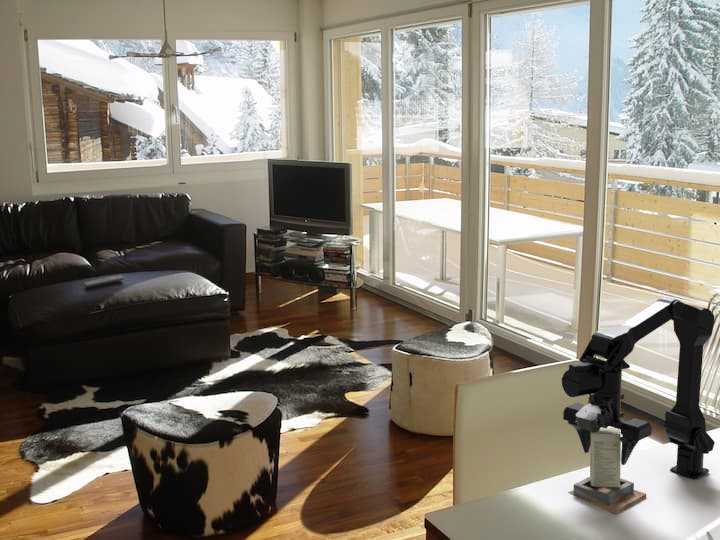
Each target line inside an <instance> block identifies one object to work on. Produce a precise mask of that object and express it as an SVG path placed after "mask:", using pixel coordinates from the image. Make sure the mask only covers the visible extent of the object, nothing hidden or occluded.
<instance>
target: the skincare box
mask: <svg viewBox="0 0 720 540" xmlns="http://www.w3.org/2000/svg"><path fill="white" fill-rule="evenodd" d="M620 437H622V434H621V429H617V428H614V427H607V428H603V427H601V428H600V430H599V431H598V432H594V433H593V432H591V442H590V449H589V453H590V457H589V458H590V460H589V461H590V462H589V463H590V464H589V465H590V466H589V469H590V470H589V472H590V473H589V477H590V482H591V486H599V487H620V478H621V451H622V442H621V441H620V439H619V438H620Z"/></svg>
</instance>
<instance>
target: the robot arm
mask: <svg viewBox="0 0 720 540" xmlns="http://www.w3.org/2000/svg"><path fill="white" fill-rule="evenodd" d="M669 321H673V332H674V333H675V335H676V338H677V340H678V342H679V355H678V365H677V366H678V368H677V381H676V397H675V404H674V405H673V406H672V408H671V409H670V410H666V411H665V415H664V416H665V419H664V424H663V427H664V428H665V433H666V434H667V437H668V440H669V441H668V442H669V443H671V444H674V445H677V449H676V450H677V452H676V453H677V454H676V465H675V466H672V467H671V468H670V469H669V470H670V471H669V472H673V473H676V474H679V475H680V476H681V475H682V476H684V477H688V478H692V479H696V480H697V479H699V478H701V477H703V476H704V475H707V473H709V472H710V469H708V468H705V467H704V454H707V455H708V454H709V453H710V452H712V451H713V450H714V446H715V443H716V442H715V441H714V439H713V438H712V437H711V436H710V434H708V433H707V429H706V427H707V426H706V419H705V416H704V414H703V412H702V410H701V408H700V397H701V383H702V372H703V371H702V370H703V355H704V346H705V344H706V343H707V342H708V340H709V339H710V337H712V335H713V330H714V325H715V314H714V313H713V312H712V311H711V309H709V308H705V307H702V306H698V305H694V304H689V303H688V304H687V303H685V302H683V301H681V300H679V299H676V298H671V297H668V296H663V297H659V298H657V300H656V301H655V302H654V303H652V304H651V305H650V306H648V307H647V308H645V309H643V310H642V311H640V312H638V313H636V314H635V315H633V316H632V317H630V318H628V319H627V320H626V321H624V322H623V323H621V324H617V325H611V326H607V327H605V328H602V329H599V330H597V331H595V332H593V334H592V335H591V339H590V340H589V342H588V343H587V345H586V347H585V349H584V351H582V354H581V357H580V358H579V362H580V363H570V364H569V365H568V370H566V371H564V373H563V374H562V375H563V376H562V377H561V386H562V389H563V391H564V393H565V394H566V395H567V396H568V397H569V398H570V397H571V398H577V397H582V396H587V395H589V397H588V402H587V404H585V403H582V402H581V403H580V402H575V403H573V404H571V405H568V406H566V407H565V408H563V410H562V419H563V420H564V421H567V423H568V425H570V426H572V427H573V428H574V429H575V430H576V432H577V435H578V436H579V440H580V442H581V445H582V446H581V447H582V448H583V451H584V453H585V454H588V453H590V442H591V432H593V433H594V432H598V431H599V430H600V428H617V429H619V430H620V434H621V437H620V438H619V439H620V441H621V457H620V465H621V466H625V465H626V464H627V463H628V460H629V459H630V456H631V455H632V453H633V451H634V449H635V447H637V444H638V443H639V441H642V440H644V439H646V438H648V437H650V436H652V432H653V430H652V429H653V426H652V424H651V423H650V422H649V421H646V420H642V419H638V418H632V419H629V420H628V421H627V420H626V421H625V420H622V419H621V418H624V411H621V402H622V401H621V400H623V399H625V393H622V379H623V377H622V376H623V375H622V374H623V370H625V369H626V370H627V369H630V368H631V366H630V364H629V363H628V362H627V361H626V360H625V359H626V358H627V357H628V356H629V355H630V354H631V353H632V352H633V351H634V348H635V346H636V343H638V342H639V341H640V340H642V339H644V338H645V337H646V336H649V334H651V333H653V332H654V331H656V330H657V329H659V328H660V327H662V326H663V325H665V324H667V323H668V322H669ZM598 357H599V358H598ZM601 358H602V359H601ZM603 359H604V360H603Z"/></svg>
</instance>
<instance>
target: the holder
mask: <svg viewBox="0 0 720 540" xmlns="http://www.w3.org/2000/svg"><path fill="white" fill-rule="evenodd" d="M567 493H568V494H570V495H572V496H575V497H577V498H578V499H581V500H583V501H585V502H587V503H588V504H592V505H594V506H596V507H598V508H600V509H603V510H604V511H607V512H610V513H611V514H614V515H616V514H619V513H620V512H622V511H624V510H626V509H628V508H629V507H631V506H633V505H635V504H636V503H639V502H640V501H642V500H643V499H645V498H646V497H647V493H645V492H642V491H639V490H636V489H635V483H634V482H632V481H629V480H627V479H623V478H621V477H620V487H599V486H591V482H590V476H588V477H585V478H584V479H582V480H580V481H578V482H575V483H573V490H570V491H568V492H567Z"/></svg>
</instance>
